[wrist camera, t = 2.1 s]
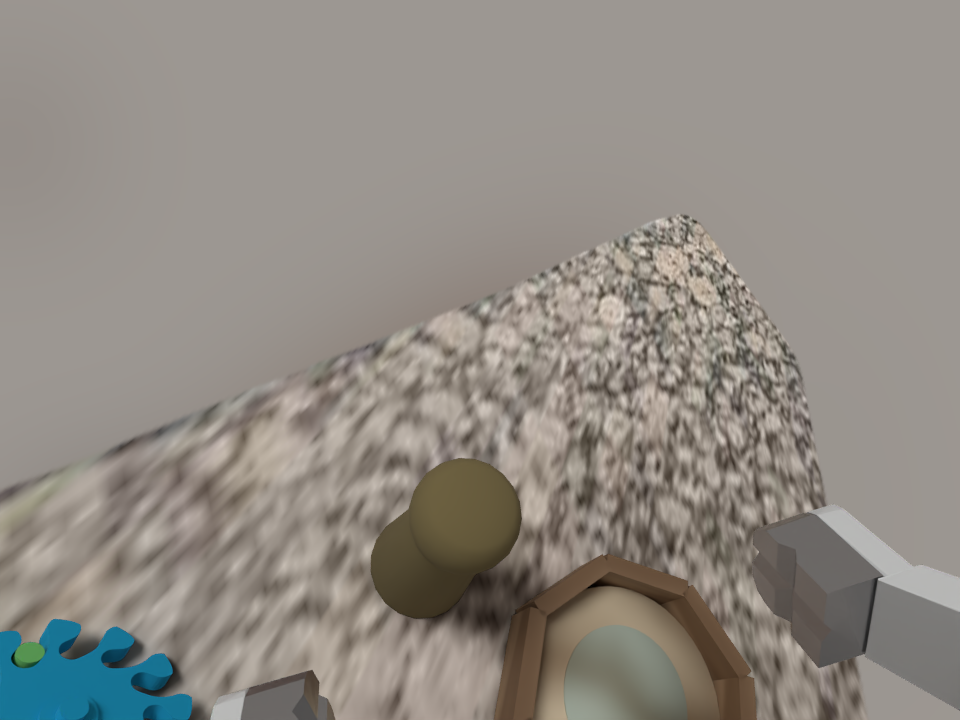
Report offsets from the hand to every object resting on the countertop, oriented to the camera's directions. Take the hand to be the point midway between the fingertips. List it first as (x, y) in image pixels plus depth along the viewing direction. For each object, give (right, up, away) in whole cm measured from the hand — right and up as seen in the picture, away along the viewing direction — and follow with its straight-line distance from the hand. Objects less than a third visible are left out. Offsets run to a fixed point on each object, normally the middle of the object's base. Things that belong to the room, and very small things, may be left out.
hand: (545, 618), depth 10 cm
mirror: (+7, -15, +23) cm, 28 cm away
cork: (-5, -8, +24) cm, 25 cm away
